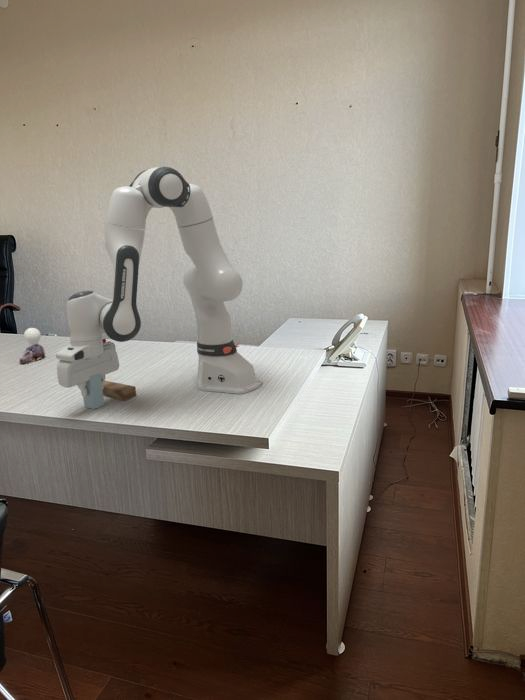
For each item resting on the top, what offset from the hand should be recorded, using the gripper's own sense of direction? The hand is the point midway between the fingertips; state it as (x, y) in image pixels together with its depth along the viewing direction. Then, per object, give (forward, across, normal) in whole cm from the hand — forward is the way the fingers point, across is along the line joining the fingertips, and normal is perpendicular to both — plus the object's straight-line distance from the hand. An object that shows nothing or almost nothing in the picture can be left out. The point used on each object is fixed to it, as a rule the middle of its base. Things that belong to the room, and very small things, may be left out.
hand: (92, 392), depth 157 cm
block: (+4, 0, 0) cm, 4 cm away
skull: (+5, -23, -61) cm, 65 cm away
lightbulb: (+4, -31, -69) cm, 76 cm away
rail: (+4, -10, -3) cm, 11 cm away
